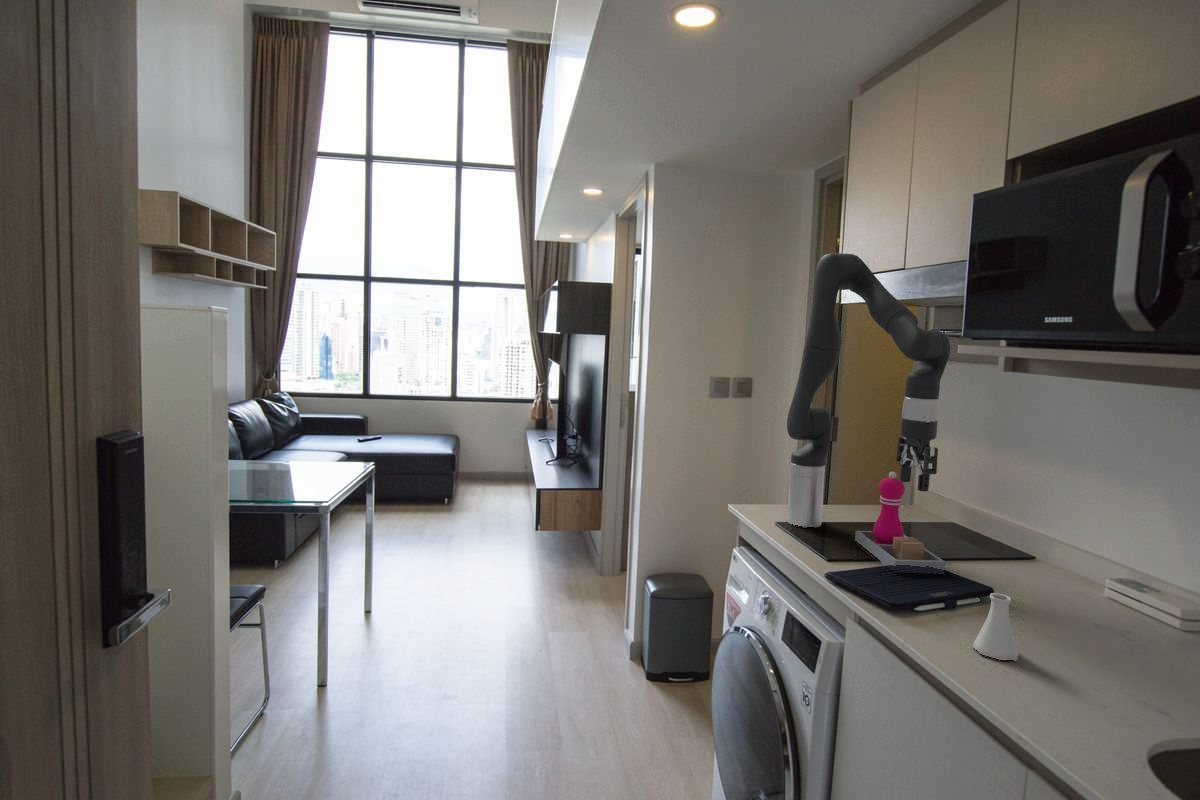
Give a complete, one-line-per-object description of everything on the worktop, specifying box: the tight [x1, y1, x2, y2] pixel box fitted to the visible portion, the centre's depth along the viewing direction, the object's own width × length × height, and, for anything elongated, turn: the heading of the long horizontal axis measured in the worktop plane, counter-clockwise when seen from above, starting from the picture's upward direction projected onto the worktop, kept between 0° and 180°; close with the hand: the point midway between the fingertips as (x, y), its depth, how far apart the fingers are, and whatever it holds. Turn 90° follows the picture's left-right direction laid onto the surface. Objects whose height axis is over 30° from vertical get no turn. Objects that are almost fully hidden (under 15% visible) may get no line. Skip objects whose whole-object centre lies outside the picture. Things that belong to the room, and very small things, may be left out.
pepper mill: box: [872, 471, 906, 545], centre depth 167 cm, size 7×7×20 cm
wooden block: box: [892, 536, 925, 560], centre depth 158 cm, size 5×5×6 cm
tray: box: [854, 530, 946, 571], centre depth 163 cm, size 22×12×3 cm, turn 1°
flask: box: [971, 592, 1020, 661], centre depth 115 cm, size 7×7×10 cm
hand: (913, 486), depth 156 cm, fingers open, 8 cm apart
